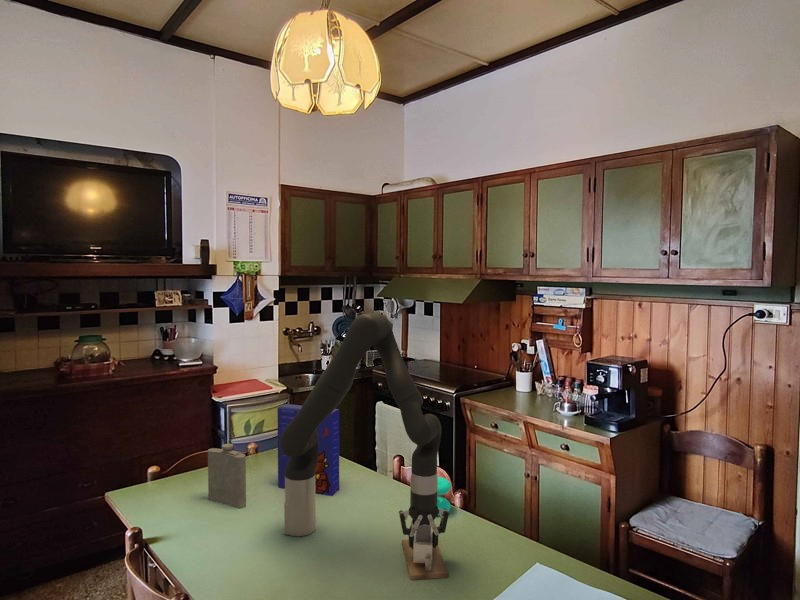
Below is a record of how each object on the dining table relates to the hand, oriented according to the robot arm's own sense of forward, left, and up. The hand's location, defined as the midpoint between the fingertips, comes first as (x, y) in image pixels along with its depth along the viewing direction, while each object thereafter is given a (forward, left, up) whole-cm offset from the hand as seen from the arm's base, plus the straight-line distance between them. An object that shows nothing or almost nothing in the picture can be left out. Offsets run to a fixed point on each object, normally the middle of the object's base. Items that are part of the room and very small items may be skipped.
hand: (423, 547), depth 146 cm
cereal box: (-34, +51, -4) cm, 61 cm away
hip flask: (-61, +43, -4) cm, 75 cm away
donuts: (+9, +29, -4) cm, 31 cm away
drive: (0, 0, -1) cm, 1 cm away
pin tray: (0, 0, -4) cm, 4 cm away
